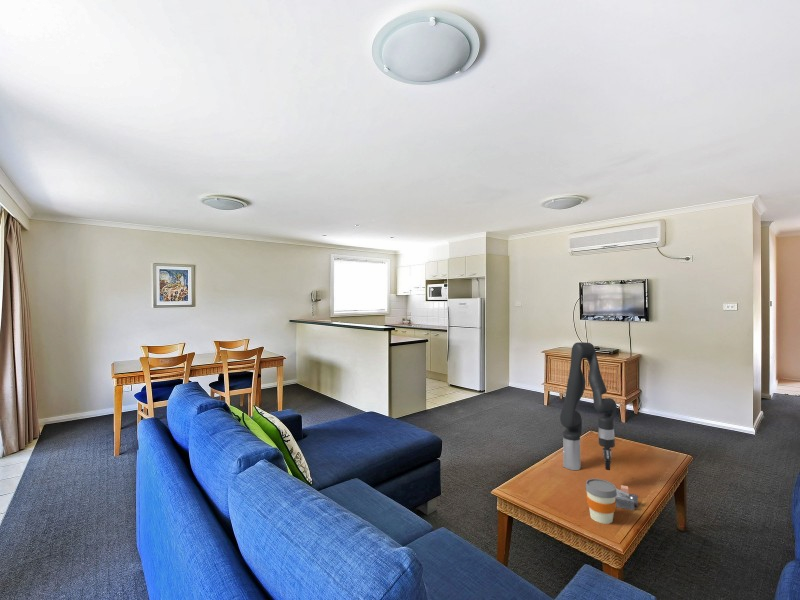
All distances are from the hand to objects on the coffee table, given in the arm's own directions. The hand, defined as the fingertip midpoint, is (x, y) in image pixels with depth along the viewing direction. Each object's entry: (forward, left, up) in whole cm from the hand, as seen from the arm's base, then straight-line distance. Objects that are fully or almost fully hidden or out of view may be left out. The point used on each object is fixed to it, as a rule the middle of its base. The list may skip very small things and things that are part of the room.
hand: (607, 469), depth 200 cm
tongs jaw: (+3, -19, -9) cm, 21 cm away
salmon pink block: (+7, -8, -9) cm, 14 cm away
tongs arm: (+5, -11, -9) cm, 15 cm away
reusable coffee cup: (-4, -33, -9) cm, 35 cm away
